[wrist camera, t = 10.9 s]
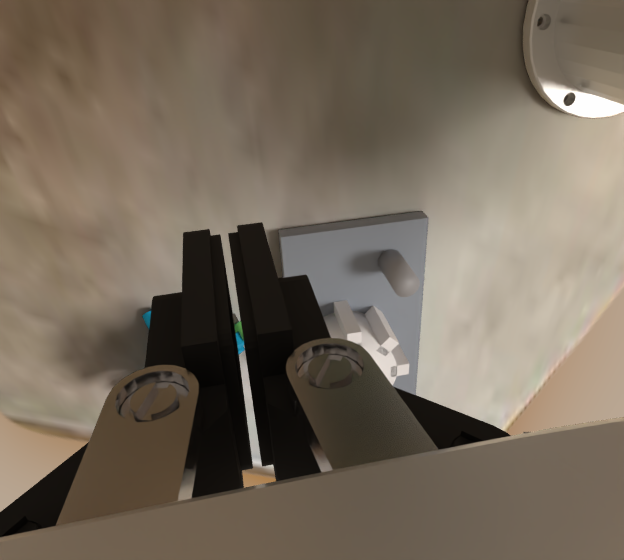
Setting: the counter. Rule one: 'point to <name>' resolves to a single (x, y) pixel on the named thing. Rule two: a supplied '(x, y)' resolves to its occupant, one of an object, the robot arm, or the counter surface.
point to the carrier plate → (367, 284)
